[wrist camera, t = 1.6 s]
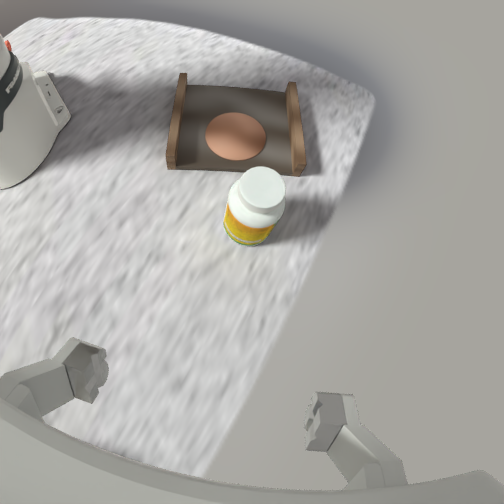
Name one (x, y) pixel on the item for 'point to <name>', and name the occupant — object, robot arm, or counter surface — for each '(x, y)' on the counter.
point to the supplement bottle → (254, 206)
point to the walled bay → (235, 129)
